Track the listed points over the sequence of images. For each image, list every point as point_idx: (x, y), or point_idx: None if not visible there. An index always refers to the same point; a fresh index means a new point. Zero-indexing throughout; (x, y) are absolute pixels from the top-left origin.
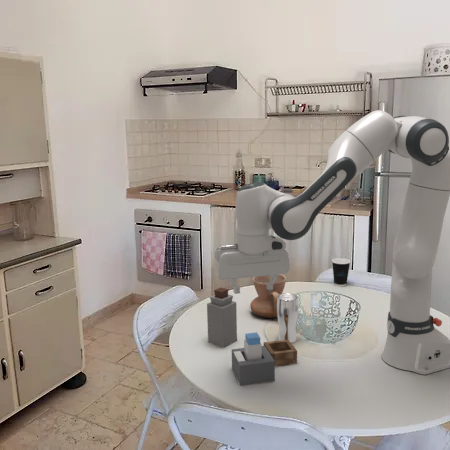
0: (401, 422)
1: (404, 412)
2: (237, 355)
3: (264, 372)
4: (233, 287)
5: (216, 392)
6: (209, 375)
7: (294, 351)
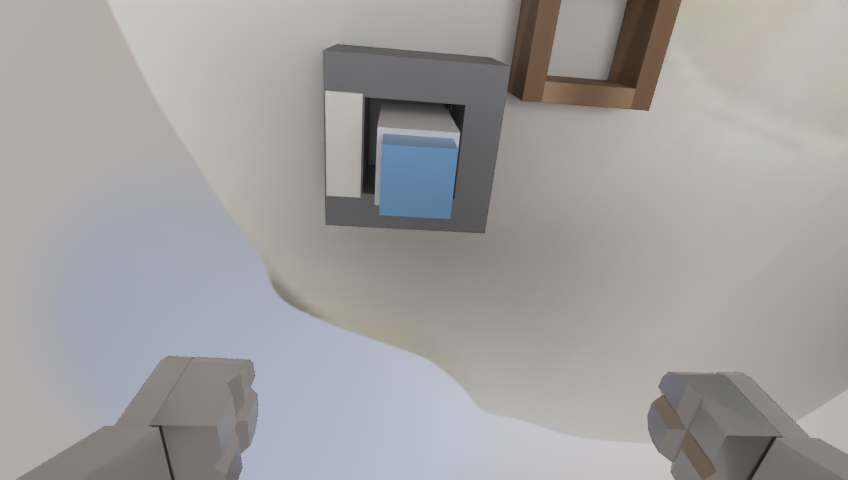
0: None
1: None
2: (336, 137)
3: None
4: (129, 415)
5: (242, 206)
6: (226, 75)
7: (635, 109)
